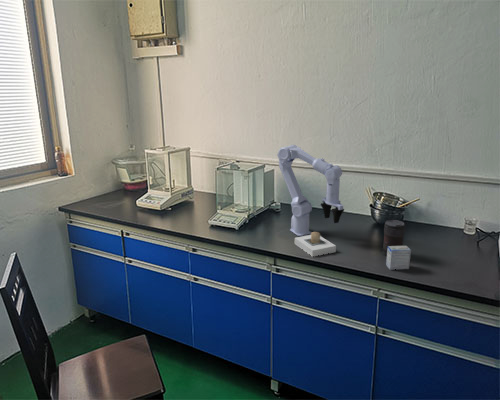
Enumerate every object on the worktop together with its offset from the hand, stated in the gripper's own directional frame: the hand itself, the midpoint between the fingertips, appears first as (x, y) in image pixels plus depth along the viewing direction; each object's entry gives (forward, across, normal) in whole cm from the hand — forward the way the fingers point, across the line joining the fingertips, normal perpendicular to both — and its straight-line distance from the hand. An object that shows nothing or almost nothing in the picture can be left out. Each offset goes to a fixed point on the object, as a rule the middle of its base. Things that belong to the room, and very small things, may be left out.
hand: (331, 220), depth 189 cm
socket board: (+10, -5, +12) cm, 16 cm away
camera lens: (+10, -26, -14) cm, 31 cm away
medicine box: (+10, -36, -8) cm, 38 cm away
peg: (+10, -5, +12) cm, 16 cm away
